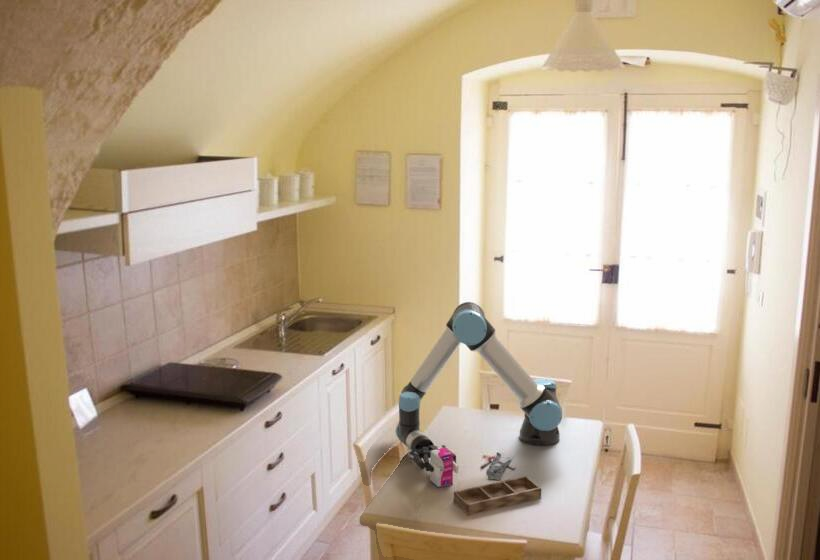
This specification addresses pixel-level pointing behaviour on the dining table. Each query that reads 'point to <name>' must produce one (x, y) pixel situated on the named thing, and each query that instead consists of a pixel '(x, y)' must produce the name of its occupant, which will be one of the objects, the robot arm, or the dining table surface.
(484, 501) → the brown wooden compartment tray
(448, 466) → the supplement box
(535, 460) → the dining table surface
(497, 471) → the grey irregular piece
